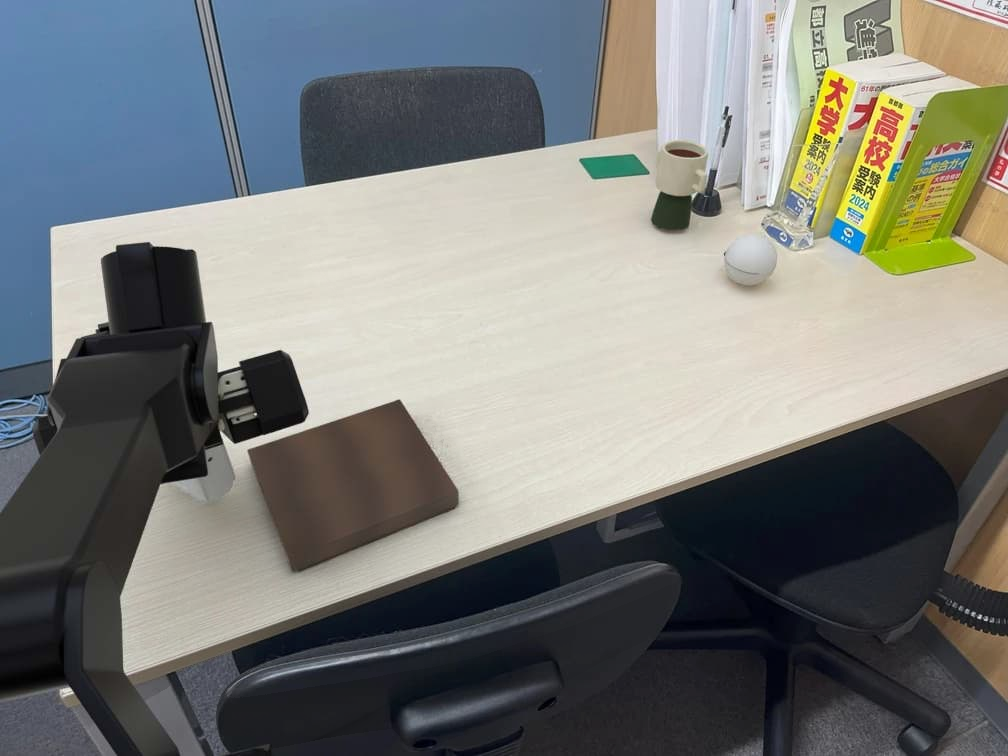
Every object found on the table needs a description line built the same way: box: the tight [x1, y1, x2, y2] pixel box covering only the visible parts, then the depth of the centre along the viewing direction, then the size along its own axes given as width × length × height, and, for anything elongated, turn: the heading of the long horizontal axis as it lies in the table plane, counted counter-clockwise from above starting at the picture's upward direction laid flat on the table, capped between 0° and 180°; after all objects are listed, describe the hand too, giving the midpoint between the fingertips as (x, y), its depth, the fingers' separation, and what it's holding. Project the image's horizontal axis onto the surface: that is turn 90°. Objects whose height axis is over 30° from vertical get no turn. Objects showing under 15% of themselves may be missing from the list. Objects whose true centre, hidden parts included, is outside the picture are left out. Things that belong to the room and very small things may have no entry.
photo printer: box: [169, 438, 236, 503], centre depth 65 cm, size 10×4×12 cm, turn 59°
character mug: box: [650, 139, 709, 231], centre depth 113 cm, size 11×7×13 cm, turn 31°
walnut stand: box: [246, 399, 460, 573], centre depth 73 cm, size 17×15×2 cm
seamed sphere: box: [719, 233, 778, 287], centre depth 102 cm, size 10×7×7 cm
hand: (186, 427), depth 63 cm, fingers closed on photo printer, 5 cm apart
